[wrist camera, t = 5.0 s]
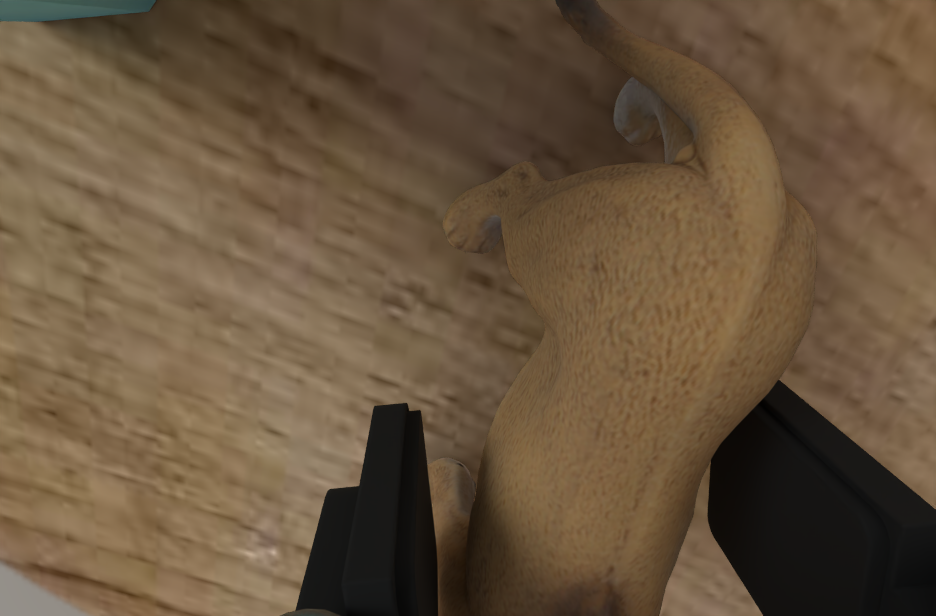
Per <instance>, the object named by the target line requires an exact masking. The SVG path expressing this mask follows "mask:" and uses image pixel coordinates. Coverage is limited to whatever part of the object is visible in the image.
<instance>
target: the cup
mask: <svg viewBox="0 0 936 616" xmlns="http://www.w3.org/2000/svg"><path fill="white" fill-rule="evenodd" d="M155 1H156V0H0V21H25V22H40V21H51V20H62V19H73V18H84V17H95V16H106V15H118V14H129V13H140V12H149V11H150V9H151V8H152V6H153V5H154V3H155Z"/></svg>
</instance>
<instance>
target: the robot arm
mask: <svg viewBox="0 0 936 616" xmlns="http://www.w3.org/2000/svg"><path fill="white" fill-rule="evenodd" d="M708 522H709V526H710V530H711V532H712V535H713V536H714V538H715V540H716V541H717V543H718V545H719V546H720V548H721V549H722V551H723V552H724V554H725V556H726V557H727V559H728V560H729V562H730V563H731V565H732V567H733V568H734V570H735V571H736V573H737V575H738V576H739V578H740V579H741V581H742V582H743V584H744V586H745V587H746V589H747V590H748V592H749V593H750V595H751V597H752V598H753V600H754V601H755V603H756V605H757V606H758V608H759V609H760V611H761V612H762V614H763V616H936V509H934V508H933V507H932V506H931V505H930V504H928V503H927V502H926V501H925V500H923V499H922V498H921V497H920V496H919V495H917V494H916V493H915V492H914V491H913V490H911V489H910V488H909V487H908V486H907V485H905V484H904V483H903V482H902V481H901V480H899V479H898V478H897V477H896V476H894V475H893V474H892V473H891V472H890V471H888V470H887V469H886V468H885V467H884V466H882V465H881V464H880V463H879V462H878V461H876V460H875V459H874V458H873V457H872V456H870V455H869V454H868V453H867V452H866V451H864V450H863V449H862V448H861V447H859V446H858V445H857V444H856V443H855V442H853V441H852V440H851V439H850V438H849V437H847V436H846V435H845V434H844V433H843V432H841V431H840V430H839V429H838V428H837V427H835V426H834V425H833V424H832V423H830V422H829V421H828V420H827V419H826V418H824V417H823V416H822V415H821V414H820V413H818V412H817V411H816V410H815V409H814V408H812V407H811V406H810V405H809V404H808V403H806V402H805V401H804V400H803V399H801V398H800V397H799V396H798V395H797V394H795V393H794V392H793V391H792V390H791V389H789V388H788V387H787V386H786V385H785V384H783V383H782V382H781V381H780V380H778V381H777V382H776V384H775V385H774V386H773V387H772V389H771V390H770V391H769V393H768V394H767V395H766V396H765V397H764V398H763V399H762V400H761V401H760V402H759V403H758V404H757V405H756V406H755V407H754V408H753V409H752V410H751V411H750V412H749V414H748V415H747V416H746V417H745V418H744V419H743V420H742V421H741V422H740V423H739V424H738V425H737V426H736V427H735V428H734V429H733V430H732V432H731V433H730V434H729V435H728V436H727V437H726V438H725V439H724V440H723V441H722V443H721V444H720V445H719V447H718V449H717V450H716V452H715V453H714V455H713V456H712V458H711V466H710V482H709V499H708ZM281 616H438V561H437V546H436V536H435V528H434V519H433V510H432V502H431V493H430V484H429V476H428V467H427V458H426V450H425V441H424V432H423V424H422V416H421V411H420V410H417V411H409V408H408V404H407V403H401V404H390V405H380V406H374V409H373V414H372V420H371V425H370V430H369V436H368V441H367V447H366V452H365V458H364V463H363V469H362V474H361V479H360V485H359V486H356V487H346V488H336V489H330V490H328V491H327V494H326V497H325V500H324V504H323V508H322V511H321V515H320V519H319V523H318V527H317V531H316V534H315V538H314V542H313V546H312V550H311V553H310V557H309V561H308V565H307V569H306V572H305V576H304V580H303V584H302V588H301V591H300V595H299V599H298V603H297V607H296V610H295V611H293V612H288V613H285V614H283V615H281Z"/></svg>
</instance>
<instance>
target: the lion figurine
mask: <svg viewBox="0 0 936 616" xmlns="http://www.w3.org/2000/svg"><path fill="white" fill-rule="evenodd" d="M555 1H556V4H557V6H558V7H559V9H560V11H561V13H562V15H563V17H564V18H565V19H566V21H567V22H568V23H569V24H570V25H571V26H572V28H573V29H574V30H575V31H576V32H577V33H578V34H579V35H580V36H581V38H582V39H583V41H584V42H585V43H586V44H588V45H589V46H591V47H592V48H594V49H595V50H597V51H598V52H600V53H601V54H602V55H604V56H605V57H606V58H608V59H609V60H610V61H611V62H613V63H614V64H616V65H618V66H619V67H621V68H622V69H623V70H625V71H626V72H627V73H628V74H630V75H631V76H632V78H630V79H629V80H628V81H627V82H626V84H625V85H624V87H623V88H622V90H621V91H620V94H619V96H618V98H617V101H616V103H615V110H614V118H613V121H614V125H615V128H616V130H617V131H618V132H619V133H620V134H621V135H622V136H623V137H624V138H625V139H626V140H627V141H628V142H629V143H630V144H631V145H636V146H642V145H643V144H645V143H646V142H648V141H650V140H652V139H655V138H658V137H659V136H660V135H661V134H662V136H663V140H664V148H665V163H624V164H615V165H609V166H602V167H598V168H594V169H591V170H587V171H584V172H580V173H576V174H573V175H570V176H566V177H564V178H561V179H557V180H552V181H547V180H545V179H544V178H543V177H542V175H541V172H540V170H539V168H538V167H537V166H536V165H534V164H532V163H530V162H520V163H518V164H515V165H513V166H512V167H510V168H509V169H508V170H507V171H505V172H504V173H503V174H501V175H500V176H498V177H497V178H495V179H493V180H491V181H489V182H487V183H484V184H480V185H477V186H475V187H473V188H471V189H469V190H467V191H465V192H464V193H463V194H461V195H460V196H459V197H458V198H457V199H456V200H455V201H454V202H453V203H452V205H451V206H450V207H449V208H448V210H447V212H446V214H445V217H444V220H443V230H444V233H445V235H446V237H447V239H448V241H449V243H450V244H451V245H452V246H453V247H455V248H457V249H460V250H462V251H464V252H472V253H480V254H484V253H487V252H489V251H490V250H492V249H493V248H494V247H495V245H496V244H497V243H498V241H499V239H500V237H501V234H503V241H504V248H505V254H506V260H507V264H508V268H509V271H510V273H511V275H512V276H513V278H514V280H515V281H516V282H517V283H518V284H519V285H520V286H521V287H522V288H523V290H524V291H525V293H526V294H527V296H528V298H529V300H530V302H531V304H532V306H533V308H534V309H535V311H536V312H537V313H538V314H539V316H540V317H541V318H542V319H543V321H544V323H545V332H544V335H543V339H542V341H541V343H540V345H539V347H538V348H537V350H536V351H535V352H534V353H533V354H532V356H531V357H530V359H529V360H528V362H527V363H526V364H525V365H524V367H523V368H522V369H521V371H520V373H519V374H518V376H517V377H516V379H515V380H514V382H513V384H512V385H511V387H510V388H509V390H508V392H507V393H506V395H505V397H504V398H503V400H502V402H501V403H500V405H499V407H498V410H497V412H496V415H495V417H494V420H493V423H492V425H491V428H490V430H489V433H488V437H487V440H486V443H485V447H484V450H483V455H482V459H481V464H480V468H479V474H478V481H477V489H476V484H475V482H474V481H473V479H472V478H471V476H470V472H469V470H468V469H467V467H466V466H465V465H464V464H462V463H461V462H459V461H457V460H455V459H453V458H448V457H444V458H439V459H437V460H435V461H433V462H431V463H429V464H428V465H427V467H428V476H429V484H430V493H431V502H432V504H433V506H432V510H433V519H434V528H435V536H436V546H437V561H438V616H659V614H660V610H661V606H662V601H663V596H664V592H665V588H666V585H667V582H668V580H669V577H670V575H671V573H672V570H673V568H674V566H675V563H676V561H677V558H678V555H679V552H680V549H681V546H682V544H683V541H684V539H685V536H686V533H687V531H688V528H689V526H690V523H691V520H692V518H693V514H694V508H695V502H696V497H697V492H698V489H699V485H700V482H701V479H702V477H703V475H704V473H705V471H706V468H707V466H708V464H709V462H710V460H711V458H712V456H713V455H714V453H715V452H716V450H717V449H718V447H719V445H720V444H721V443H722V441H723V440H724V439H725V438H726V437H727V436H728V435H729V434H730V433H731V432H732V430H733V429H734V428H735V427H736V426H737V425H738V424H739V423H740V422H741V421H742V420H743V419H744V418H745V417H746V416H747V415H748V414H749V412H750V411H751V410H752V409H753V408H754V407H755V406H756V405H757V404H758V403H759V402H760V401H761V400H762V399H763V398H764V397H765V396H766V395H767V394H768V393H769V391H770V390H771V389H772V387H773V386H774V385H775V384H776V382H777V381H778V380H779V378H780V377H781V375H782V374H783V372H784V370H785V369H786V367H787V365H788V364H789V362H790V361H791V359H792V357H793V355H794V353H795V351H796V349H797V347H798V346H799V344H800V342H801V340H802V338H803V336H804V334H805V332H806V329H807V327H808V324H809V321H810V317H811V313H812V309H813V303H814V291H815V279H816V267H817V232H816V229H815V226H814V224H813V221H812V218H811V217H810V215H809V214H808V212H807V211H806V210H805V209H804V207H803V206H802V205H801V203H800V202H799V201H798V200H797V199H795V198H794V197H793V196H792V195H791V194H790V193H788V192H787V191H786V190H785V189H784V184H783V179H782V174H781V169H780V165H779V162H778V158H777V155H776V152H775V149H774V146H773V143H772V141H771V139H770V138H769V136H768V134H767V132H766V130H765V128H764V126H763V125H762V123H761V121H760V119H759V117H758V116H757V115H756V113H755V112H754V111H753V110H752V108H751V107H750V106H749V105H748V104H747V102H746V101H745V100H744V99H743V97H742V96H741V95H740V94H739V93H738V91H737V90H736V89H735V88H734V87H733V86H731V85H730V84H729V83H728V82H727V81H726V80H724V79H723V78H722V77H721V76H719V75H718V74H717V73H715V72H714V71H712V70H710V69H708V68H707V67H705V66H703V65H701V64H700V63H698V62H696V61H694V60H692V59H691V58H689V57H687V56H684V55H682V54H679V53H677V52H675V51H672V50H670V49H668V48H666V47H663V46H661V45H659V44H656V43H654V42H651V41H648V40H646V39H643V38H641V37H639V36H637V35H635V34H633V33H631V32H629V31H627V30H626V29H624V28H623V27H622V26H621V25H620V24H619V23H618V22H617V21H615V20H614V19H613V18H612V17H611V16H610V15H609V14H607V13H606V12H605V11H604V10H602V9H601V8H600V6H599V5H598V3H597V1H596V0H555ZM475 491H476V496H475ZM474 497H475V501H474Z"/></svg>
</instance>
